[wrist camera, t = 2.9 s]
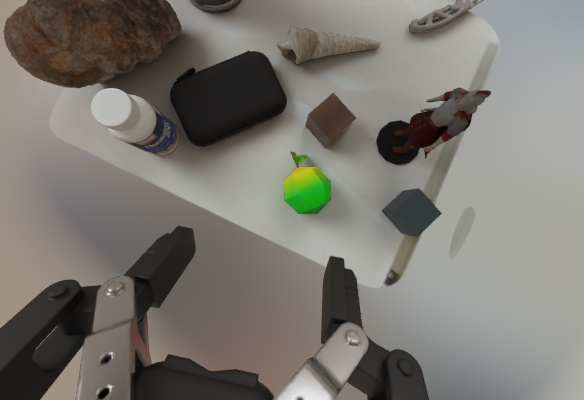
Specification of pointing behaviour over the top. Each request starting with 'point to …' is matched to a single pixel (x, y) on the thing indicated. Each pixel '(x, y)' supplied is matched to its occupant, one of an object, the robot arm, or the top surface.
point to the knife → (442, 16)
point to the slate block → (411, 212)
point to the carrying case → (227, 98)
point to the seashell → (320, 44)
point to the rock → (88, 38)
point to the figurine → (429, 126)
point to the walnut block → (329, 120)
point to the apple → (307, 188)
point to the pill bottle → (135, 121)
